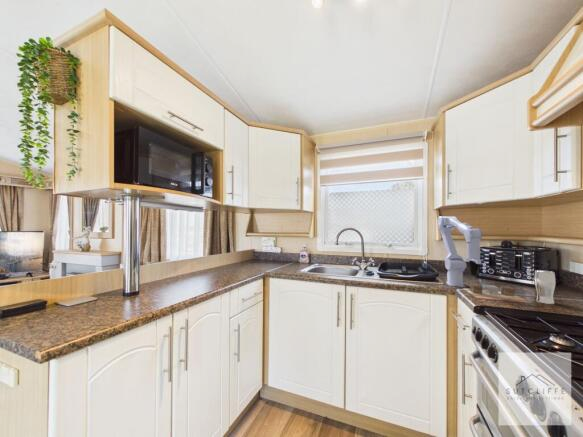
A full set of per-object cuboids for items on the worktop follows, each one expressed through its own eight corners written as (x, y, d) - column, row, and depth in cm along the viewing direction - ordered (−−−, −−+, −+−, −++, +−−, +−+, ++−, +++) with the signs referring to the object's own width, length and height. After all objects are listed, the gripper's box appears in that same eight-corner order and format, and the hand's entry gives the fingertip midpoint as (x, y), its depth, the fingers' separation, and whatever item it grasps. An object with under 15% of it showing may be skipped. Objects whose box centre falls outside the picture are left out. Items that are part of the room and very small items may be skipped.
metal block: (485, 292, 131) (485, 284, 131) (494, 293, 129) (494, 285, 129) (488, 294, 127) (488, 286, 127) (498, 295, 126) (498, 287, 126)
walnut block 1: (470, 290, 133) (470, 283, 133) (478, 291, 131) (478, 284, 132) (473, 292, 129) (473, 285, 129) (482, 293, 128) (482, 286, 128)
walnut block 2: (501, 293, 128) (501, 286, 128) (510, 294, 127) (510, 286, 127) (505, 295, 125) (505, 287, 125) (514, 296, 123) (514, 288, 123)
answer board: (461, 288, 140) (461, 287, 140) (508, 292, 133) (508, 291, 133) (476, 298, 121) (476, 297, 121) (531, 303, 114) (531, 302, 114)
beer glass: (537, 303, 114) (537, 271, 114) (532, 299, 120) (532, 269, 120) (558, 306, 110) (558, 273, 110) (552, 302, 116) (551, 271, 116)
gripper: (460, 249, 140) (460, 272, 140) (470, 251, 126) (470, 277, 126) (474, 249, 138) (474, 273, 138) (486, 252, 124) (486, 278, 124)
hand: (473, 275), depth 132 cm, fingers closed
